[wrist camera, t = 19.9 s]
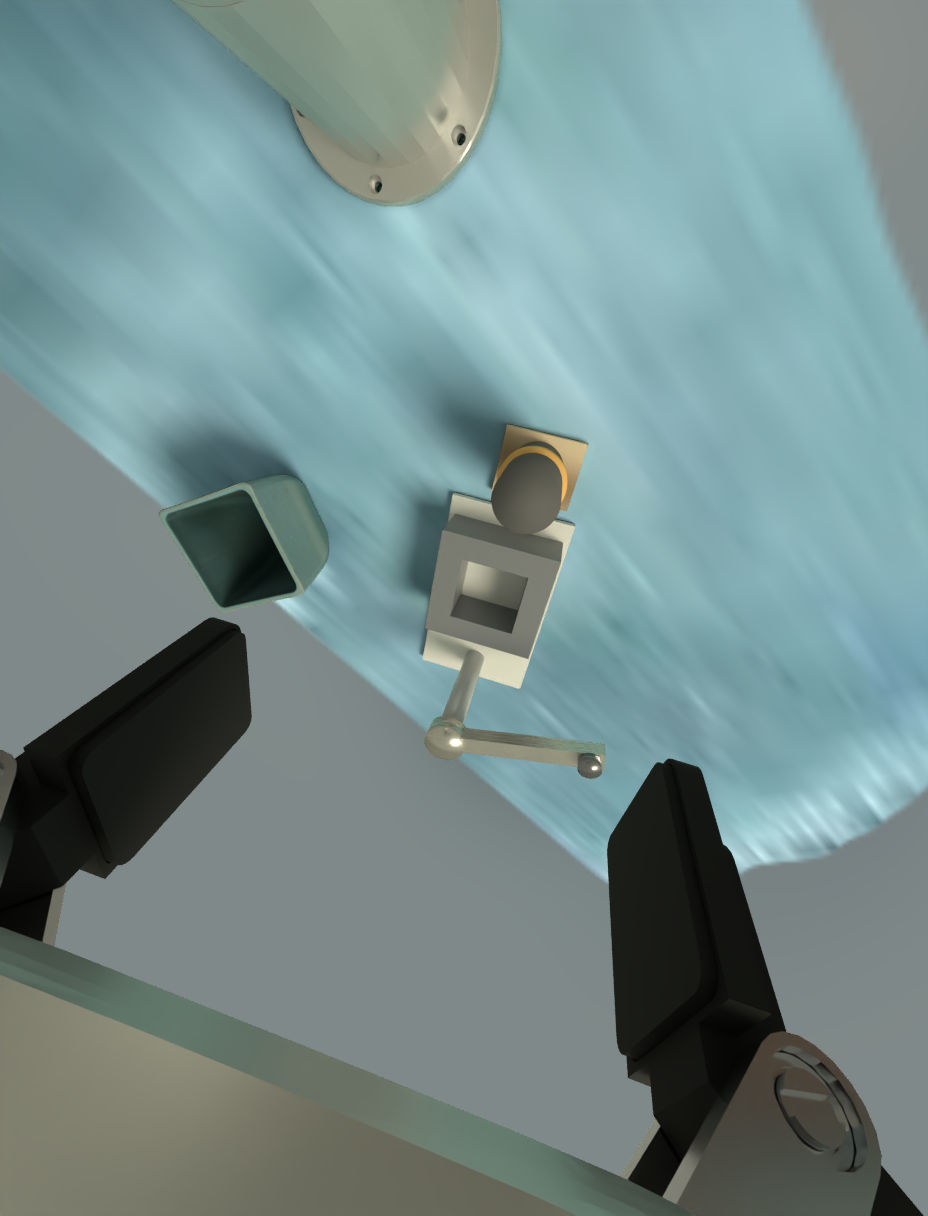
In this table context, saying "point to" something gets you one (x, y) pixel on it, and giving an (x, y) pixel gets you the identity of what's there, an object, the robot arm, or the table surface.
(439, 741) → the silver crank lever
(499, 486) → the plug
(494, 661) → the socket plate
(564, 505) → the cork mat
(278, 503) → the flower pot
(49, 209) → the table surface
